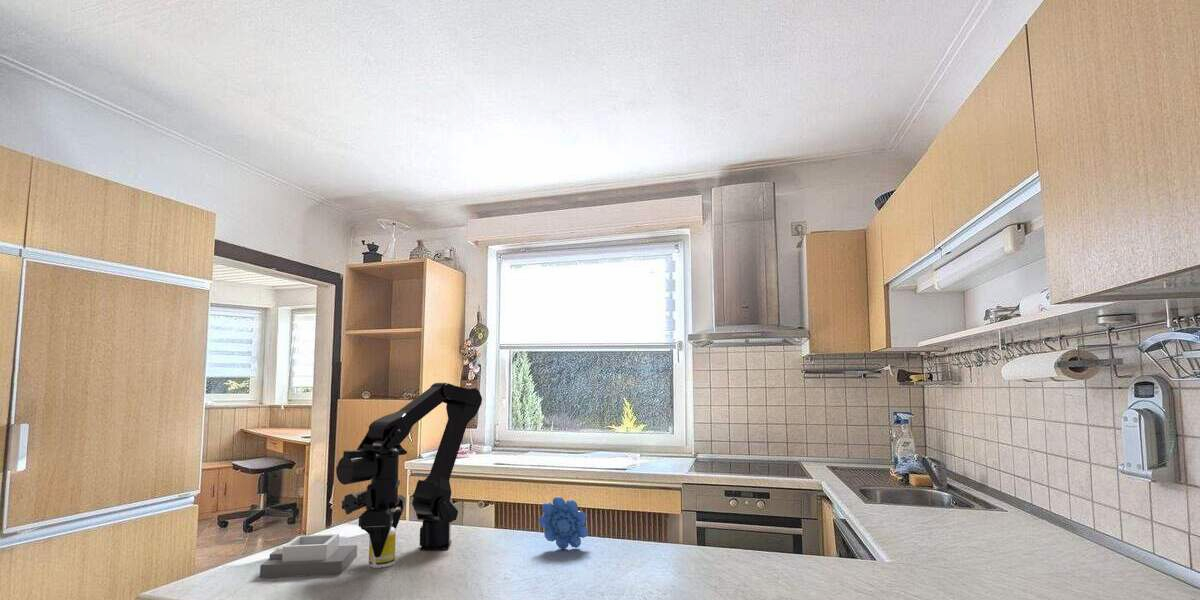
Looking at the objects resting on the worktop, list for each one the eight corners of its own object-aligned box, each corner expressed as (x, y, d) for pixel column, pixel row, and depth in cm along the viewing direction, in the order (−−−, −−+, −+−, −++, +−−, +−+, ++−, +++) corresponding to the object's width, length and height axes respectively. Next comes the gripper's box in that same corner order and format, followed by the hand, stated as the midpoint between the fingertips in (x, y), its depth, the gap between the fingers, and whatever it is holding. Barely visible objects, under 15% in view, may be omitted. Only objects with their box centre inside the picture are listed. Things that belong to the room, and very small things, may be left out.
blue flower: (537, 555, 137) (537, 500, 138) (539, 546, 144) (539, 494, 145) (588, 554, 137) (588, 499, 139) (588, 545, 144) (587, 493, 146)
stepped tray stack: (356, 556, 137) (357, 531, 138) (341, 573, 125) (342, 546, 126) (282, 560, 135) (283, 534, 136) (259, 577, 123) (261, 550, 124)
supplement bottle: (400, 562, 133) (401, 516, 134) (383, 569, 128) (385, 521, 129) (379, 559, 135) (381, 514, 136) (362, 567, 130) (364, 520, 131)
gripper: (357, 471, 142) (355, 540, 140) (333, 486, 123) (330, 566, 121) (406, 470, 143) (404, 538, 141) (390, 484, 125) (387, 563, 123)
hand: (382, 550), depth 132 cm, fingers open, 9 cm apart
